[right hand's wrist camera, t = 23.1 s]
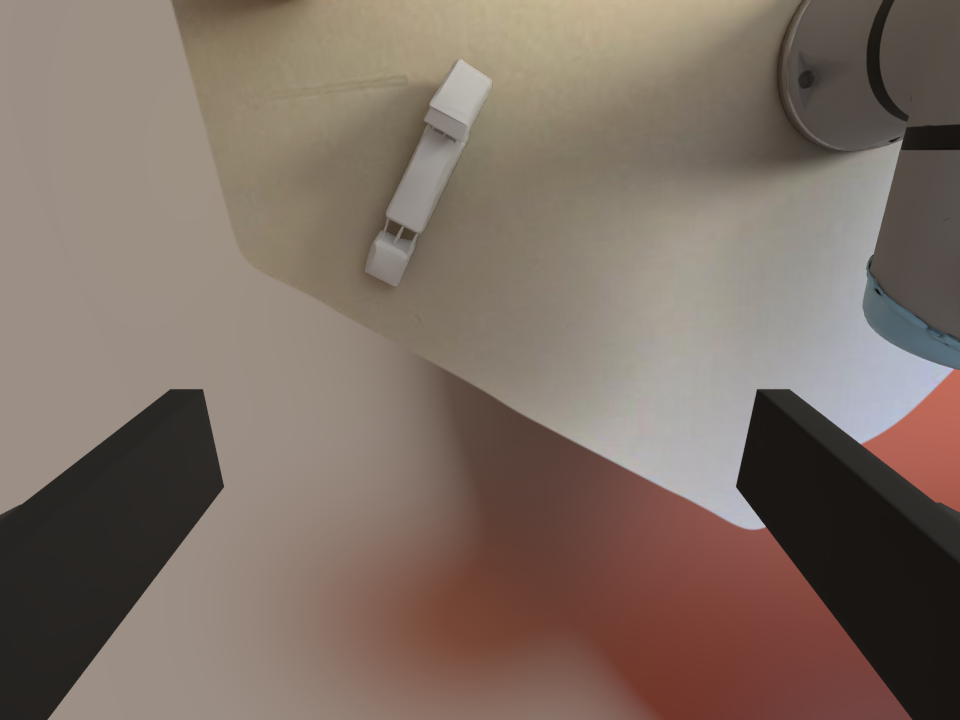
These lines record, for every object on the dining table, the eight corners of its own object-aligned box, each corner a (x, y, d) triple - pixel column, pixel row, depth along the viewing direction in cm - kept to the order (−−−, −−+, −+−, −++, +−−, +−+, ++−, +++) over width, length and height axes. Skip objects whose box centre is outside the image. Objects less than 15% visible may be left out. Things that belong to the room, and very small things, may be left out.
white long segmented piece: (457, 57, 45) (448, 51, 39) (496, 80, 45) (493, 77, 39) (370, 259, 53) (351, 281, 47) (403, 276, 54) (390, 299, 48)
